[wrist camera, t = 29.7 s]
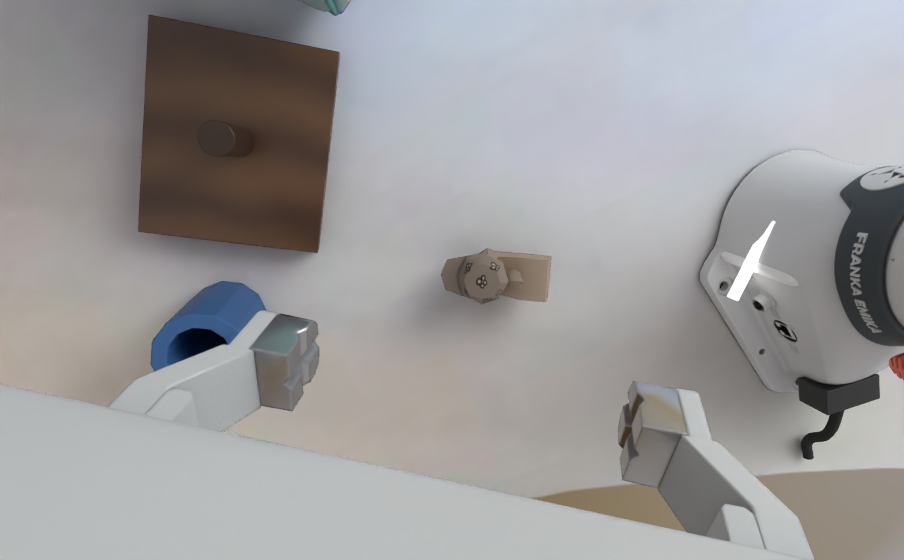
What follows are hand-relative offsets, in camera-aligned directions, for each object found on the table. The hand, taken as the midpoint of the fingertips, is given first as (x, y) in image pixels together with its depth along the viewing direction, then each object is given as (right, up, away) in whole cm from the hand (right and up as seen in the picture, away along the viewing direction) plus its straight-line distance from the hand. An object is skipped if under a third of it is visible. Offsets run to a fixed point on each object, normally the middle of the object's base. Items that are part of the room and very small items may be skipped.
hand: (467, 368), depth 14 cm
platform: (-15, +12, +25) cm, 32 cm away
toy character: (+3, +3, +31) cm, 31 cm away
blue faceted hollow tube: (-17, -1, +28) cm, 33 cm away
